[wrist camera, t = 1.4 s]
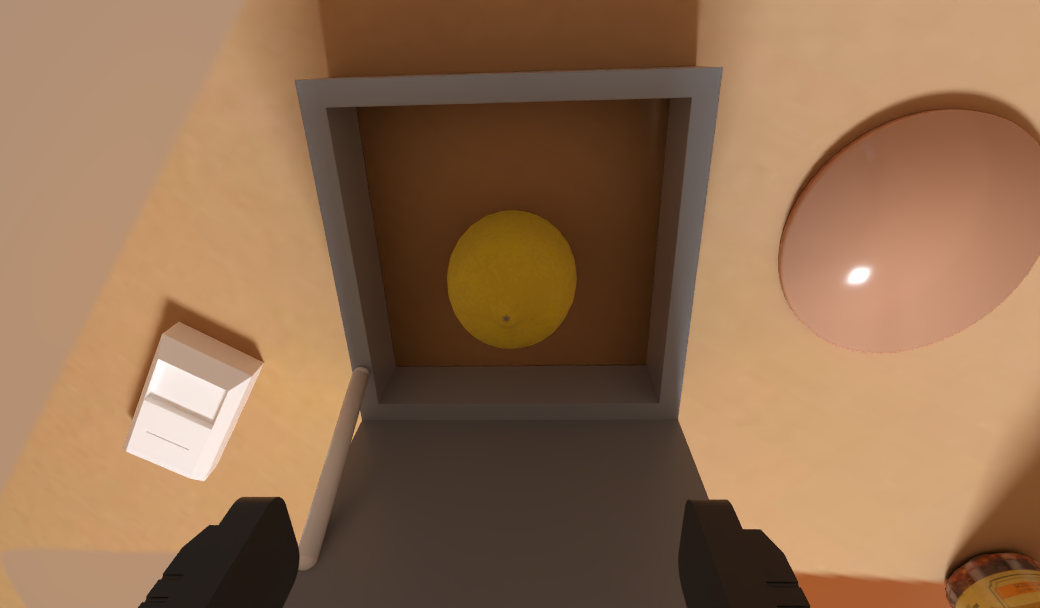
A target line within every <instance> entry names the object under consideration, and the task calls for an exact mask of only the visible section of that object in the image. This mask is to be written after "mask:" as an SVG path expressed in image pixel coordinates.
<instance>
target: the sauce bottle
mask: <svg viewBox="0 0 1040 608" xmlns="http://www.w3.org/2000/svg"><path fill="white" fill-rule="evenodd" d="M946 584H947V585H946V588H945V590H946V597H947V599H948V602H949V604H950V606H951V607H952V608H1040V564H1039V563H1037V562H1036V561H1034V560H1033V559H1032V558H1030V557H1028V556H1026V555H1021V554H1019V553H1016V552H1015V553H1010V552H1007V553H995V554H983V555H978V556H976V557H973V558H971V559H970V560H969V561H968V562H967V563H966V564H964V565H962V566H961V567H959V568H958V569H956V570H955V571H954V572H953V574H952V575H951V576H950V577H949V579H948V581H947V583H946Z"/></svg>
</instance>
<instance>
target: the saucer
mask: <svg viewBox="0 0 1040 608" xmlns="http://www.w3.org/2000/svg"><path fill="white" fill-rule="evenodd" d="M1039 255H1040V145H1039V144H1038V142H1037V141H1036V140H1035V139H1034V138H1033V137H1032V136H1031V135H1030V134H1029V133H1028V132H1026V131H1025V130H1024V129H1023V128H1021V127H1020V126H1018V125H1016V124H1015V123H1013V122H1011V121H1009V120H1007V119H1004V118H1002V117H999V116H996V115H993V114H989V113H983V112H978V111H971V110H958V109H941V110H930V111H924V112H920V113H915V114H910V115H907V116H904V117H901V118H898V119H895V120H892V121H889V122H887V123H885V124H883V125H881V126H879V127H877V128H874V129H872V130H870V131H869V132H867V133H865V134H864V135H862V136H860V137H859V138H857V139H855V140H854V141H852V142H851V143H850V144H848V145H847V146H846V147H844V148H843V149H842V150H840V151H839V152H838V153H837V154H836V155H834V156H833V157H832V158H831V159H830V160H829V161H828V162H827V163H826V164H825V165H824V166H823V167H822V168H821V169H820V170H819V171H818V172H817V173H816V175H815V176H814V177H813V178H812V179H811V180H810V182H809V183H808V184H807V186H806V187H805V189H804V190H803V192H802V193H801V194H800V196H799V198H798V199H797V201H796V203H795V205H794V207H793V208H792V210H791V212H790V215H789V217H788V220H787V222H786V225H785V227H784V231H783V234H782V238H781V242H780V249H779V257H778V266H779V277H780V283H781V287H782V290H783V293H784V296H785V299H786V300H787V302H788V304H789V306H790V308H791V309H792V311H793V312H794V313H795V315H796V316H797V317H798V318H799V320H800V321H801V322H802V323H803V324H804V325H806V326H807V327H808V328H809V329H810V330H811V331H812V332H813V333H814V334H816V335H817V336H819V337H820V338H822V339H823V340H825V341H827V342H829V343H831V344H834V345H836V346H838V347H841V348H845V349H848V350H852V351H858V352H864V353H896V352H902V351H908V350H913V349H917V348H921V347H924V346H928V345H931V344H933V343H936V342H939V341H942V340H944V339H946V338H949V337H951V336H953V335H955V334H957V333H959V332H961V331H963V330H964V329H966V328H968V327H969V326H971V325H973V324H975V323H976V322H978V321H979V320H980V319H982V318H983V317H985V316H986V315H987V314H989V313H990V312H991V311H993V310H994V309H995V308H996V307H997V306H998V305H1000V304H1001V303H1002V302H1003V301H1004V300H1005V299H1006V298H1007V297H1008V296H1009V295H1010V294H1011V293H1012V292H1013V291H1014V290H1015V289H1016V288H1017V287H1018V285H1019V284H1020V283H1021V282H1022V280H1023V279H1024V278H1025V277H1026V275H1027V274H1028V273H1029V271H1030V270H1031V268H1032V267H1033V265H1034V264H1035V262H1036V261H1037V259H1038V257H1039Z"/></svg>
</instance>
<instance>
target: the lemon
mask: <svg viewBox="0 0 1040 608" xmlns="http://www.w3.org/2000/svg"><path fill="white" fill-rule="evenodd" d="M576 284H577V275H576V265H575V259H574V257H573V254H572V251H571V249H570V246H569V244H568V242H567V241H566V239H565V238H564V237H563V235H562V234H561V233H560V231H559V230H558V229H557V228H556V227H555V226H553V225H552V224H551V223H550V222H548V221H547V220H546V219H544V218H542V217H540V216H538V215H535V214H533V213H530V212H525V211H520V210H507V211H499V212H496V213H493V214H490V215H486V216H485V217H483V218H482V219H480V220H479V221H477V222H475V223H474V224H472V225H471V226H470V227H469V228H468V229H467V231H466V232H465V233H464V234H463V235H462V236H461V237H460V238H459V240H458V242H457V244H456V246H455V248H454V250H453V252H452V254H451V257H450V261H449V266H448V271H447V286H448V296H449V300H450V302H451V305H452V308H453V311H454V314H455V316H456V317H457V318H458V320H459V321H460V323H461V324H462V326H463V327H464V328H465V329H466V330H467V331H468V332H469V333H470V334H471V335H472V336H473V337H475V338H476V339H478V340H480V341H482V342H484V343H485V344H488V345H491V346H495V347H498V348H507V349H517V348H523V347H529V346H531V345H534V344H536V343H539V342H541V341H542V340H544V339H545V338H547V337H548V336H549V335H551V334H552V333H553V332H554V331H555V330H556V329H557V328H558V327H559V326H560V324H561V323H562V322H563V321H564V319H565V317H566V315H567V313H568V311H569V309H570V307H571V305H572V303H573V300H574V295H575V289H576Z"/></svg>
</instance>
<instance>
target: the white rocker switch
mask: <svg viewBox="0 0 1040 608" xmlns="http://www.w3.org/2000/svg"><path fill="white" fill-rule="evenodd" d="M263 364H264V362H262V361H260V360H258V359H255V358H253V357H251V356H249V355H247V354H245V353H243V352H241V351H239V350H237V349H235V348H233V347H231V346H229V345H226V344H224V343H222V342H220V341H218V340H216V339H214V338H212V337H210V336H208V335H206V334H204V333H202V332H200V331H197V330H195V329H193V328H191V327H189V326H187V325H185V324H183V323H181V322H178V323H176V324H175V325H173V326H172V327H171V328H169V329H168V330H167V331H165V332H164V333H162V335H161V338H160V341H159V344H158V347H157V350H156V353H155V356H154V359H153V361H152V364H151V367H150V370H149V373H148V376H147V379H146V382H145V385H144V388H143V390H142V393H141V396H140V399H139V402H138V405H137V408H136V411H135V414H134V416H133V419H132V422H131V425H130V428H129V431H128V434H127V437H126V440H125V443H124V445H123V448H124V449H125V451H126V452H129V453H131V454H133V455H136V456H138V457H140V458H143V459H145V460H148V461H150V462H152V463H155V464H157V465H159V466H162V467H164V468H167V469H169V470H171V471H174V472H176V473H178V474H181V475H183V476H186V477H188V478H190V479H196V480H201V481H205V480H206V478H207V477H208V476H209V475H210V473H211V472H212V471H213V470H214V468H215V467H216V466H217V464H218V462H219V460H220V458H221V456H222V453H223V451H224V449H225V447H226V445H227V443H228V440H229V438H230V436H231V434H232V432H233V430H234V427H235V425H236V423H237V421H238V419H239V416H240V414H241V412H242V410H243V408H244V406H245V403H246V401H247V399H248V397H249V395H250V392H251V390H252V388H253V386H254V384H255V382H256V379H257V377H258V375H259V373H260V371H261V368H262V366H263Z"/></svg>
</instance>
